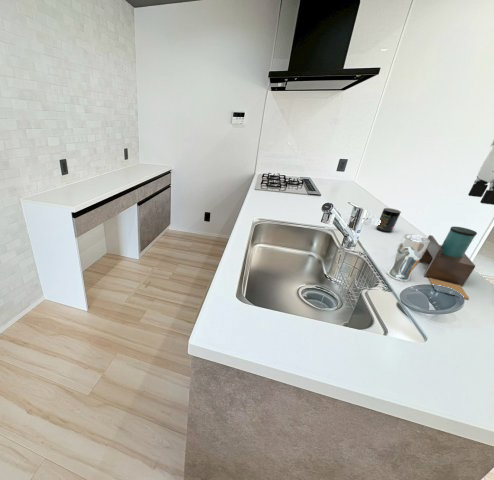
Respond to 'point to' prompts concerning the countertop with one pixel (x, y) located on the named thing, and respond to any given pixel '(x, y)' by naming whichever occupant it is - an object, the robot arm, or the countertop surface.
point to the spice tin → (457, 241)
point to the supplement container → (388, 219)
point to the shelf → (446, 265)
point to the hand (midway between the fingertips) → (480, 199)
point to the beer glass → (408, 256)
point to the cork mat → (450, 285)
